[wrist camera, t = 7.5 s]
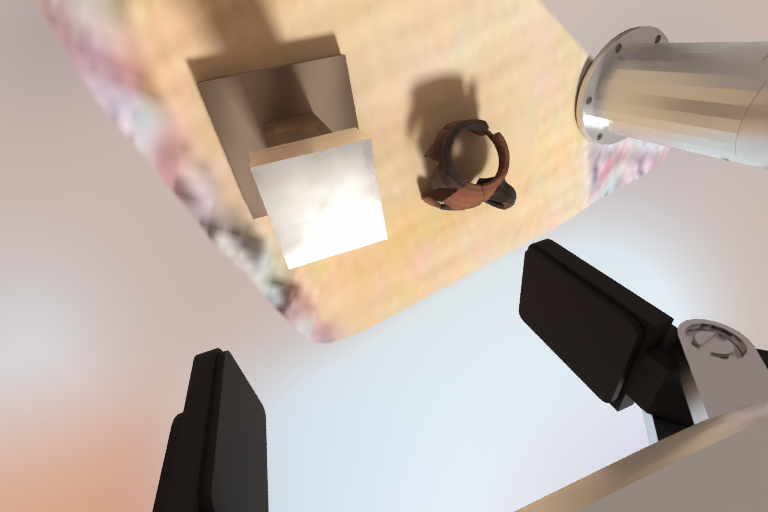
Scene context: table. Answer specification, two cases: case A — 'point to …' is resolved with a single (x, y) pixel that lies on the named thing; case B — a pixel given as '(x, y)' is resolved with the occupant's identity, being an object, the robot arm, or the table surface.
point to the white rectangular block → (320, 195)
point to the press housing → (277, 111)
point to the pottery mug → (466, 193)
